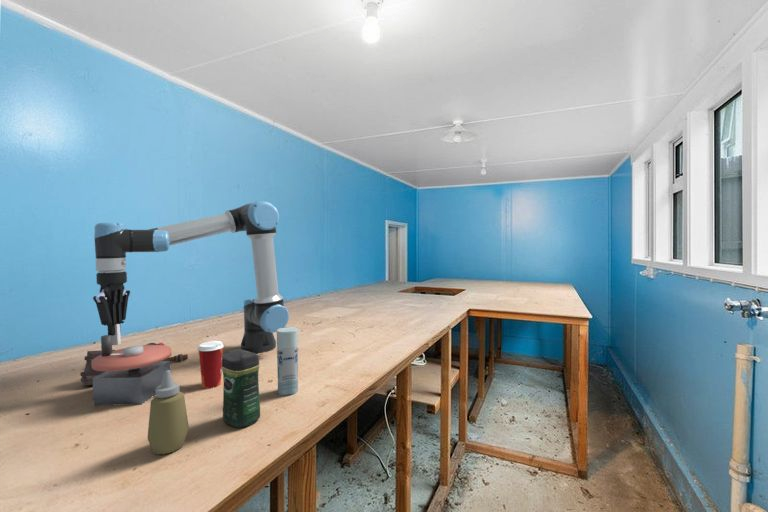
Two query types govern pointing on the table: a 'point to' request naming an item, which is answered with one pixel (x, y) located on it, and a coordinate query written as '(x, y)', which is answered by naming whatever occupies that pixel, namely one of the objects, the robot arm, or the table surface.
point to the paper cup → (211, 363)
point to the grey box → (128, 385)
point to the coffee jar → (240, 388)
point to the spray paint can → (287, 360)
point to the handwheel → (128, 356)
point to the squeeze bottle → (167, 417)
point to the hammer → (90, 373)
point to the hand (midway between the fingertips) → (114, 344)
